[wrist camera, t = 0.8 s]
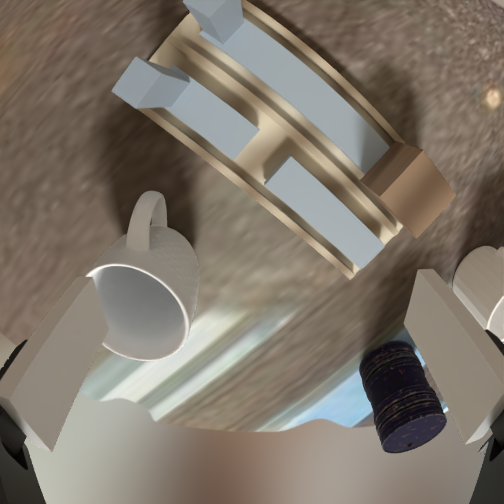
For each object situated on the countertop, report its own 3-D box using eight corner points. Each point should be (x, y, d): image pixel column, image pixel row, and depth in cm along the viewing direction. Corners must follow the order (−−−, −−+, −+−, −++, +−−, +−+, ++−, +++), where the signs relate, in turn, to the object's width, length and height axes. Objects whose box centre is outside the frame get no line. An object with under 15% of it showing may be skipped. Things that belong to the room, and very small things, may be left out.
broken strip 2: (263, 182, 33) (264, 185, 32) (289, 154, 32) (290, 156, 30) (357, 264, 37) (361, 269, 36) (381, 241, 36) (385, 246, 35)
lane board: (125, 97, 30) (118, 96, 28) (218, -14, 24) (216, -20, 23) (348, 274, 39) (352, 282, 38) (435, 185, 34) (443, 189, 32)
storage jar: (362, 345, 45) (390, 424, 31) (419, 335, 44) (457, 405, 31) (355, 386, 49) (375, 459, 35) (406, 376, 48) (434, 443, 35)
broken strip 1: (152, 96, 29) (104, 94, 19) (175, 66, 27) (137, 48, 17) (234, 158, 32) (224, 184, 22) (259, 129, 31) (262, 140, 20)
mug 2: (485, 302, 42) (517, 340, 32) (442, 301, 41) (474, 345, 32) (512, 233, 36) (553, 264, 27) (470, 224, 36) (514, 258, 27)
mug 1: (122, 173, 34) (63, 211, 22) (216, 182, 34) (195, 226, 22) (125, 284, 40) (86, 350, 28) (205, 296, 41) (189, 370, 29)
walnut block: (359, 180, 31) (379, 196, 26) (396, 141, 29) (423, 150, 24) (393, 217, 33) (416, 238, 28) (428, 179, 31) (456, 195, 26)
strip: (200, 36, 26) (174, 4, 16) (226, 9, 25) (213, -34, 15) (404, 217, 34) (452, 262, 24) (426, 194, 33) (481, 231, 23)
